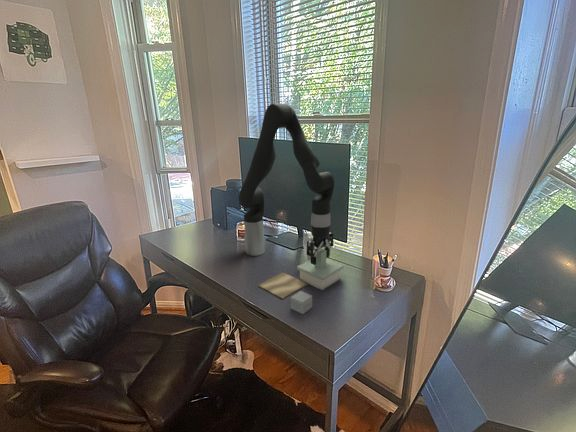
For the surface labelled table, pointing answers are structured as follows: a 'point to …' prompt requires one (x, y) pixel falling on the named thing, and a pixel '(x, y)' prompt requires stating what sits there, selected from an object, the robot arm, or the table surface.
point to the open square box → (320, 283)
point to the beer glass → (307, 237)
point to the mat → (282, 285)
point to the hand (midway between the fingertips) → (320, 260)
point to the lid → (320, 266)
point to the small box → (301, 302)
